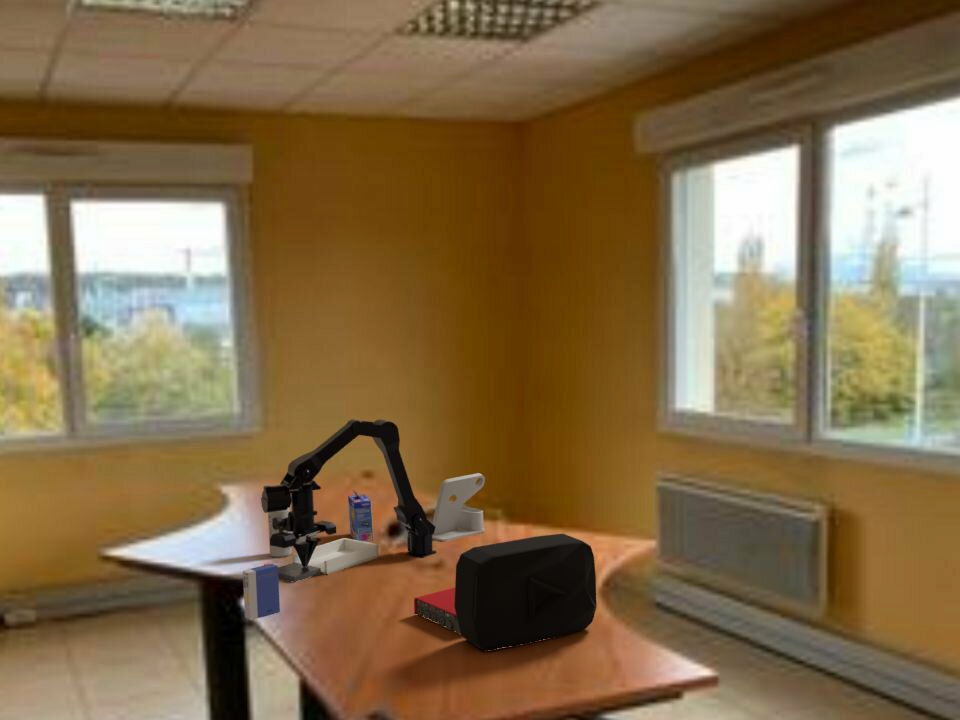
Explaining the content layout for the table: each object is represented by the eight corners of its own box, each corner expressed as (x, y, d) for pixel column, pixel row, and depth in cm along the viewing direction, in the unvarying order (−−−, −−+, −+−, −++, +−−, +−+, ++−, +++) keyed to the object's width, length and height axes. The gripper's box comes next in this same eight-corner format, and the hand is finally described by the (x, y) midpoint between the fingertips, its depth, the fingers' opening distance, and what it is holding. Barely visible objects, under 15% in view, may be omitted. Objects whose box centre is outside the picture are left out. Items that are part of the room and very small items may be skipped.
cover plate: (321, 577, 258) (320, 568, 258) (294, 586, 251) (294, 576, 251) (295, 571, 264) (295, 562, 264) (269, 579, 257) (268, 570, 257)
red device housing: (414, 618, 224) (413, 596, 223) (464, 604, 233) (464, 583, 232) (461, 639, 210) (460, 616, 209) (512, 624, 218) (512, 602, 218)
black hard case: (574, 617, 221) (572, 529, 219) (606, 633, 210) (605, 541, 209) (454, 643, 207) (451, 550, 205) (482, 662, 196) (479, 564, 194)
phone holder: (466, 525, 307) (464, 468, 306) (487, 531, 299) (486, 472, 298) (422, 536, 295) (420, 477, 294) (443, 542, 288) (441, 481, 286)
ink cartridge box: (348, 534, 299) (347, 487, 298) (366, 533, 301) (365, 486, 300) (355, 542, 290) (353, 494, 289) (374, 540, 292) (372, 492, 291)
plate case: (378, 558, 272) (378, 544, 272) (327, 576, 257) (326, 561, 257) (344, 551, 280) (344, 537, 280) (292, 568, 265) (292, 553, 265)
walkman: (273, 612, 230) (271, 561, 229) (280, 615, 228) (277, 564, 227) (243, 620, 224) (241, 569, 223) (250, 623, 222) (247, 571, 221)
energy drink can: (286, 559, 274) (284, 506, 272) (266, 559, 275) (264, 506, 274) (295, 553, 280) (292, 501, 278) (275, 553, 281) (272, 501, 280)
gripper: (308, 497, 271) (310, 553, 272) (254, 511, 256) (257, 569, 257) (336, 502, 264) (338, 559, 265) (283, 516, 249) (285, 576, 251)
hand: (304, 566), depth 260 cm, fingers closed
